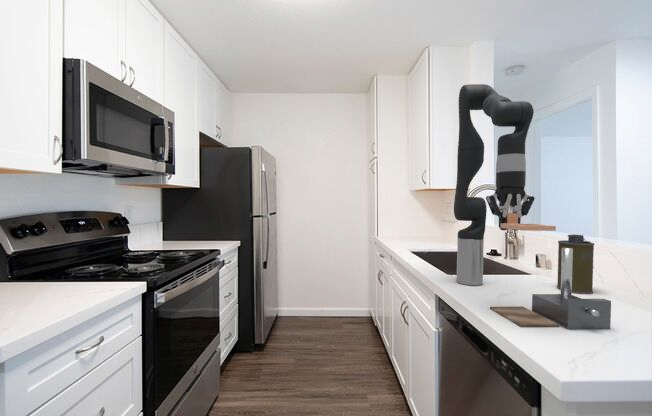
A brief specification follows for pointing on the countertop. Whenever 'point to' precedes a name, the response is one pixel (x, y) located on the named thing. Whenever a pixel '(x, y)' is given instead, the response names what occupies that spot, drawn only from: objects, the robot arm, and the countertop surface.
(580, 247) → the canister
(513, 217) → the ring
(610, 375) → the countertop surface
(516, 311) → the board
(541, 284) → the countertop surface
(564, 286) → the block
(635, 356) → the countertop surface
